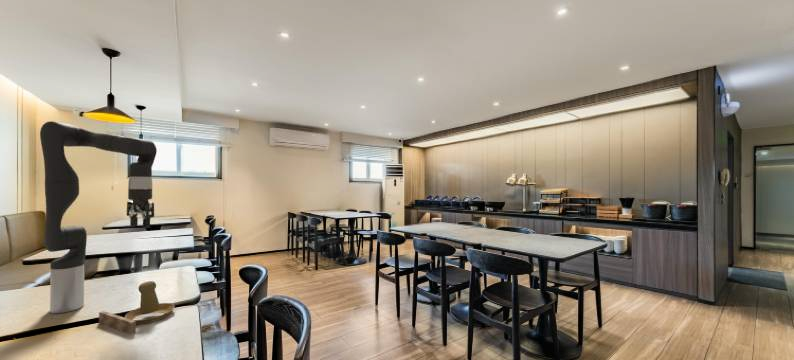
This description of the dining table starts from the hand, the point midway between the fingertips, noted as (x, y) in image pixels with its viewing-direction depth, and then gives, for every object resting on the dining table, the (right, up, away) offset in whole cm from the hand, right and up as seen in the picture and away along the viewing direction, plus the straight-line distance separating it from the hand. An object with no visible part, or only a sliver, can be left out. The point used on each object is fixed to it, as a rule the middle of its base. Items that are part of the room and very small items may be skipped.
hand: (140, 227), depth 123 cm
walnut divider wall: (+6, -33, -17) cm, 37 cm away
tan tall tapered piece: (+11, -31, -8) cm, 34 cm away
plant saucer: (+11, -34, -8) cm, 36 cm away
